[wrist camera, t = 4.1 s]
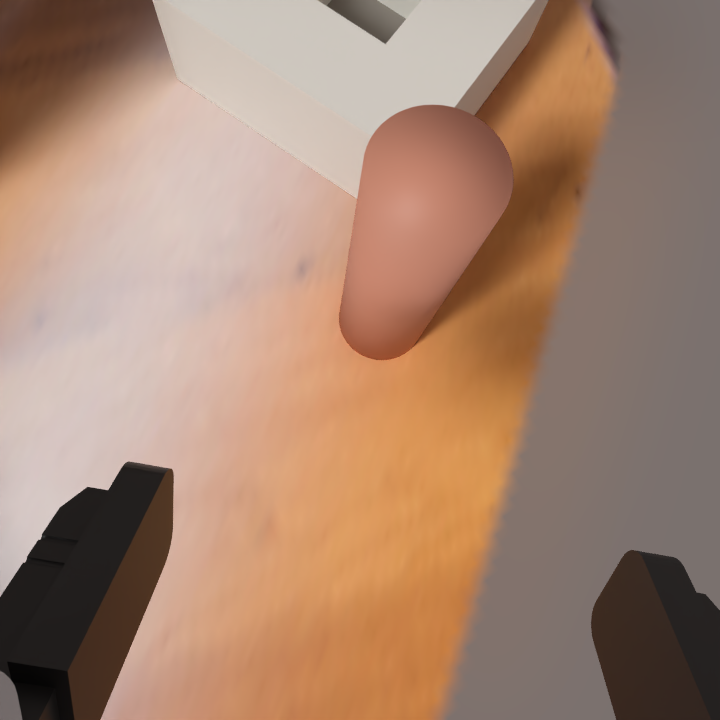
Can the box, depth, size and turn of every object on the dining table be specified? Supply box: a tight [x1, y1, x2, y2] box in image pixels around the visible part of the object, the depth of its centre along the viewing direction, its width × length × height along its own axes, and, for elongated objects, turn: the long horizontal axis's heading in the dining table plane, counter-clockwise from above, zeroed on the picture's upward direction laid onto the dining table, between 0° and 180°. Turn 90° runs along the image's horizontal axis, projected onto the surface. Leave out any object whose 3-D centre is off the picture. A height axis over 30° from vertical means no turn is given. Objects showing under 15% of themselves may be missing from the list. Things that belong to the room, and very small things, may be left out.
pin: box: [339, 105, 513, 360], centre depth 20 cm, size 4×4×12 cm
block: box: [153, 0, 549, 199], centre depth 26 cm, size 12×12×5 cm
